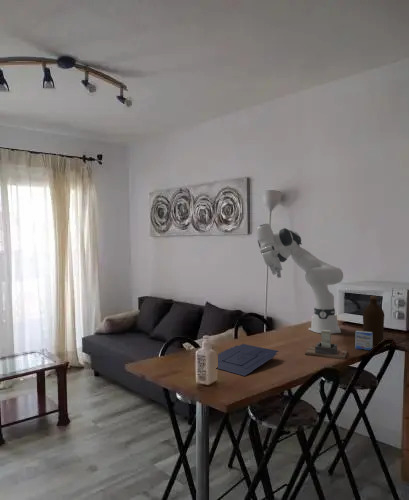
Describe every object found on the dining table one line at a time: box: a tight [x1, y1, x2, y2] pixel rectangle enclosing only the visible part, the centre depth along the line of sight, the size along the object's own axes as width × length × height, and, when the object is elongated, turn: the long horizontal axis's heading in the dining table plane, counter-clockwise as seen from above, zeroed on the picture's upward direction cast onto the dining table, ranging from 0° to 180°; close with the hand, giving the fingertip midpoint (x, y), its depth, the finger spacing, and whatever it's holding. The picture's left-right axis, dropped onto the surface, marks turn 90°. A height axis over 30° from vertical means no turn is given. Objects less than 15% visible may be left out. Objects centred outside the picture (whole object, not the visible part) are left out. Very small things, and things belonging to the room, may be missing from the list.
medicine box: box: [354, 330, 374, 351], centre depth 202 cm, size 8×4×9 cm, turn 62°
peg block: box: [320, 330, 332, 348], centre depth 193 cm, size 4×4×10 cm
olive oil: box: [362, 295, 385, 346], centre depth 213 cm, size 11×11×25 cm
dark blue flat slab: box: [217, 343, 279, 377], centre depth 180 cm, size 24×30×4 cm
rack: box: [304, 342, 348, 360], centre depth 193 cm, size 12×18×4 cm, turn 65°
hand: (277, 275), depth 209 cm, fingers open, 8 cm apart
